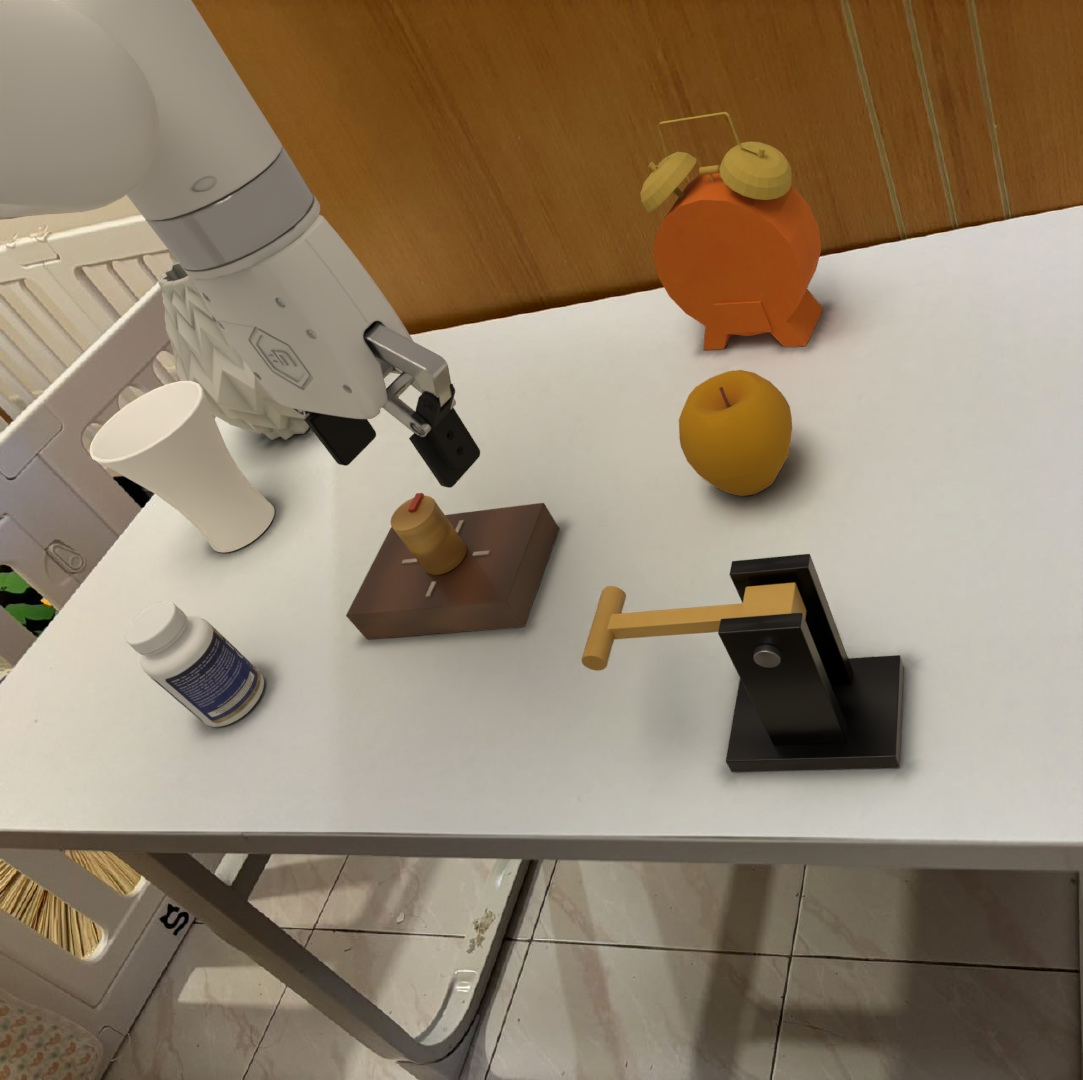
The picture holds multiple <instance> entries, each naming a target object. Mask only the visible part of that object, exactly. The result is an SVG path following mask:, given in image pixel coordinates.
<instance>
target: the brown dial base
mask: <svg viewBox="0 0 1083 1080" xmlns="http://www.w3.org/2000/svg"><path fill="white" fill-rule="evenodd" d="M445 516H446V517H447V519H448V520H449V522H450V523H451V524H452V526H453V527H454V529H455V530H456V532H457V533H458V534H459V536H460V537H461V539H462V540H463V542H464V543H465V544H466V547H467V552H466V555H465V557H464V559H463V560H462V562H461V563H460V564H459V565H458V566H457V567H455V568H454V569H452V570H451V571H449V572H447V573H444V574H441V575H431V574H428V573H427V572H426V571H425V570H424V569H423V567H422V566H421V565H420V563H419V562H418V561H417V559H416V558H415V557H414V555H413V554H412V553H411V552H410V550H409V549H408V548H407V546H406V545H405V544H404V542H403V541H402V540H401V538H400V537H399V536H398V534H397V533H396V532H395V531H394V529H393V528H392V526H391V525H390V528H389V530H388V533H387V534H386V535H385V538H384V540H383V542H382V544H381V546H380V548H379V550H378V552H377V553H376V556H375V558H374V560H373V561H372V564H371V565H370V567H369V570H368V572H367V573H366V575H365V577H364V579H363V581H362V583H361V585H360V587H359V589H358V591H357V593H356V595H355V596H354V599H353V601H352V602H351V605H350V606H349V608H348V611H347V612H346V615H345V617H346V618H347V619H348V620H349V621H350V623H351V624H352V625H353V626H354V627H355V628H356V629H357V630H358V631H359V633H360V634H361V635H362V636H363V637H364V639H366V640H376V639H389V638H401V637H402V638H403V637H413V636H414V637H415V636H427V635H437V634H438V635H439V634H440V635H441V634H450V633H451V634H452V633H462V632H463V633H464V632H475V631H477V632H478V631H487V630H489V631H490V630H501V629H513V628H515V629H516V628H524V627H525V625H526V623H527V620H528V618H529V614H530V611H531V609H532V606H533V603H534V600H535V598H536V594H537V592H538V589H539V586H540V583H541V581H542V578H543V575H544V572H545V570H546V567H547V565H548V562H549V559H550V556H551V553H552V550H553V547H554V545H555V541H556V539H557V536H558V533H559V531H560V527H559V526H558V524H557V522H556V520H555V518H554V517H553V515H552V514H551V512H550V510H549V509H548V507H547V506H546V504H545V502H538V503H530V504H522V505H514V506H505V507H498V508H490V509H489V508H488V509H482V510H473V511H467V512H457V513H450V514H445Z"/></svg>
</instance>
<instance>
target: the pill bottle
mask: <svg viewBox="0 0 1083 1080" xmlns="http://www.w3.org/2000/svg"><path fill="white" fill-rule="evenodd" d="M124 640H125V642H126V644H128V645H129V646H130V647H131V648H132V649H133V650H134V651H135V652H136V653H138V654H139V655H140V666H141V669H142V671H143V672H144V673H145V674H146V675H147V676H148V677H149V678H150V679H151V680H152V681H153V682H154V683H156V684H157V685H159V686H160V687H161V688H162V689H163V690H164V691H166V692H167V693H168V695H170V696H171V697H173V698H174V699H175V700H176V701H177V702H178V703H179V704H181V705H182V706H183V707H184V708H185V709H187V711H189V712H190V714H192V715H193V716H194V717H195V718H197V719H198V720H199V721H201V722H202V723H203V724H204V725H206V726H209V727H212V728H220V727H224V726H228V725H230V724H233V723H235V722H237V721H239V720H240V719H242V718H243V717H244V716H246V715H247V714H248V713H249V712H250V711H251V710H252V709H253V708H254V707H255V705H256V704H257V703H258V702H259V699H260V698H261V696H262V695H263V691H264V687H265V679H264V676H263V674H262V673H261V671H260V670H259V669H258V668H257V667H256V666H254V665H255V664H253V663H252V662H250V660H249V659H248V658H246V656H245V655H243V654H242V653H241V651H239V650H238V649H237V647H236V646H234V645H233V644H232V643H231V642H230V641H229V640H228V639H227V638H225V636H224V635H223V634H221V633H220V632H219V631H218V630H217V628H216V627H214V626H213V625H212V623H210V622H209V621H208V620H206V619H205V618H203V617H201V616H197V615H189V616H188V615H187V614H185V612H184V610H182V609H181V608H179V607H178V606H177V605H176V603H174V602H172V601H170V600H161V601H158V602H155V603H153V604H151V605H149V606H147V607H146V608H144V609H142V611H140V612H139V613H138V614H137V615H135V617H133V619H132V620H131V621H130V622H129V624H128V625H127V627H126V630H125V632H124Z"/></svg>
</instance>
